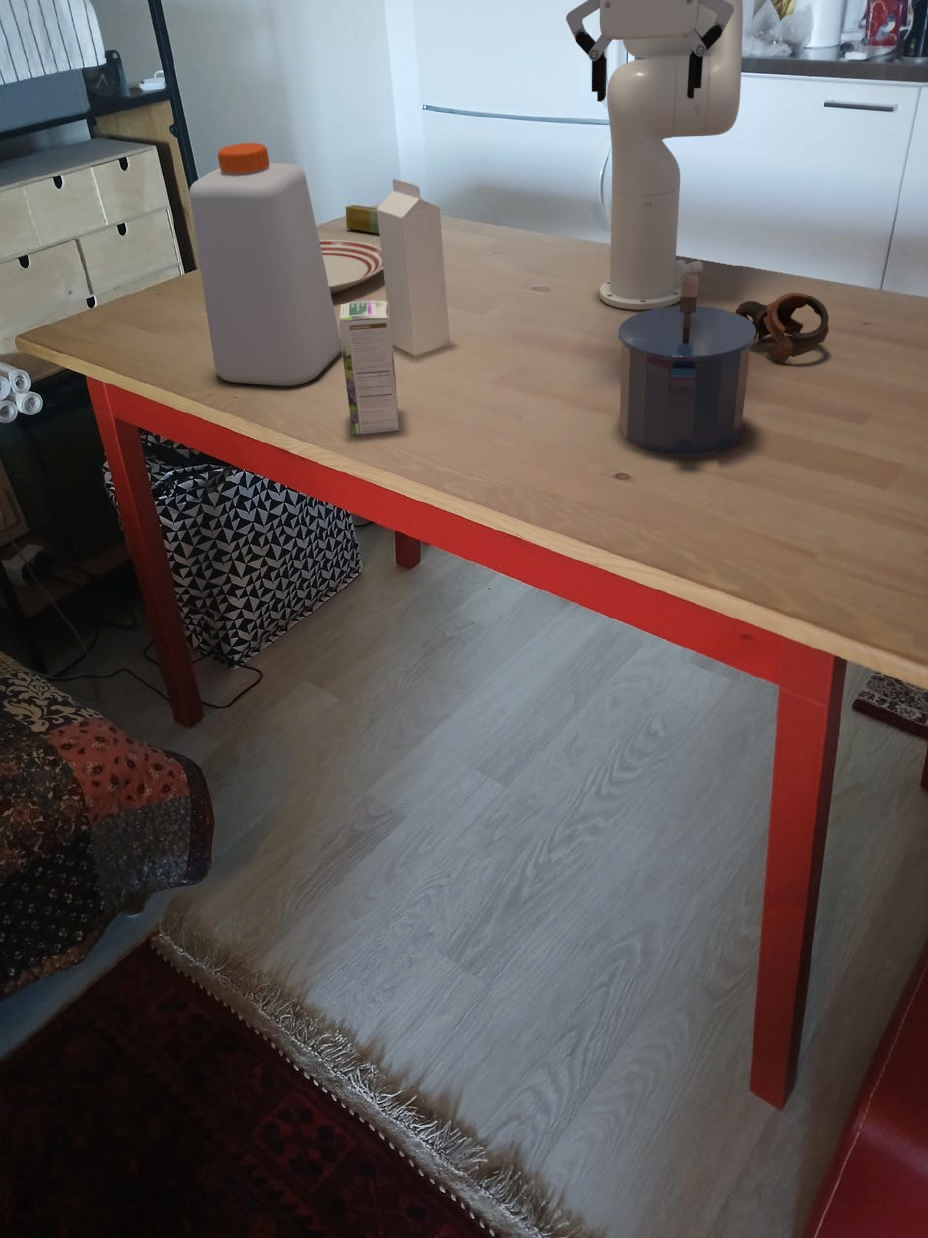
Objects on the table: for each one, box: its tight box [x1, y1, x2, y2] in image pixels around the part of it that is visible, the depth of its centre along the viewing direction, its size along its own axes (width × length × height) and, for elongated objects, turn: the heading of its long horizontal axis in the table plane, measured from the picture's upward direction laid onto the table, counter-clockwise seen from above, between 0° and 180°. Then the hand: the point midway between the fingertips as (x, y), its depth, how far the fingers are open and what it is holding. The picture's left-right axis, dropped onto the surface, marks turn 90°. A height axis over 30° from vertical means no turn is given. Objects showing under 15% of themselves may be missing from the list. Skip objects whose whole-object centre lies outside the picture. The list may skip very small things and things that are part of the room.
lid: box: [618, 274, 756, 362], centre depth 110 cm, size 15×15×6 cm
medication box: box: [345, 204, 379, 234], centre depth 188 cm, size 12×3×4 cm, turn 56°
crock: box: [619, 343, 751, 456], centre depth 115 cm, size 14×19×12 cm
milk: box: [376, 178, 451, 357], centre depth 137 cm, size 6×6×22 cm
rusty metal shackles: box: [734, 292, 830, 364], centre depth 133 cm, size 12×10×8 cm
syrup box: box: [338, 300, 400, 436], centre depth 120 cm, size 6×6×14 cm
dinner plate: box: [319, 239, 383, 295], centre depth 168 cm, size 28×27×3 cm
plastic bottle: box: [189, 142, 342, 387], centre depth 133 cm, size 15×15×28 cm
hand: (645, 97), depth 112 cm, fingers open, 9 cm apart
